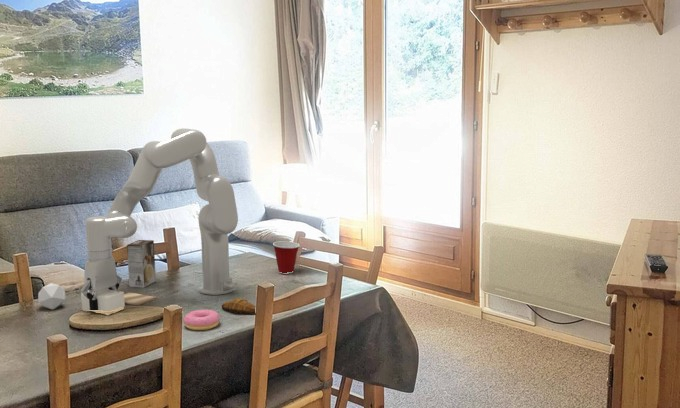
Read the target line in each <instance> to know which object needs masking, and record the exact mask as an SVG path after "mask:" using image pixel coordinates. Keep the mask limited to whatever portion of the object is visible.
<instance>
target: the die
mask: <svg viewBox="0 0 680 408" xmlns="http://www.w3.org/2000/svg"><path fill="white" fill-rule="evenodd" d="M37 295H38V304H40V305H41V306H42V307H44V308H46V309H48V310H51V311H54V310H55V309H57V308H58V307H60V306H62V304H63V303H64V302H65V301H66V290H65V289H64V288H63V287H62V286H61V285H60V284H56V283H53V282H50V283H48V284H46V285H45V286H42V288H41V289H40V290H39V292H37Z"/></svg>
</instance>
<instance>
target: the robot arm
mask: <svg viewBox="0 0 680 408" xmlns="http://www.w3.org/2000/svg"><path fill="white" fill-rule="evenodd" d="M187 160H189V162H190V165H191V168H192V172H193V178H194V183H195V190H196V193H197V196H198V197H199V198H200V200H202V201H206V202H208V204H205V205H204V206H202V207H201V209H200V211H199V213H198V217H197V218H198V227H199V231H200V239H201V240H200V241H201V242H200V244H201V245H200V246H201V267H202V268H201V269H202V270H201V271H202V285H201V286H199V287H198V293H200V294H203V295H208V296H219V295H225V294H226V295H227V294H229V293H232V292H233V291H235V290H236V289H237V286H238V283H237V282H234V281H233V278H232V277H230V256H229V253H230V252H229V249H230V248H229V236H228V235H229V234H232V233H233V232H234V231H235V230H236V228H237V227H238V222H239V215H238V214H239V213H238V209H237V204H236V203H237V202H236V196H235V192H234V188H233V185H232V184H231V182H230V181H229V180H228V178H226V177H223V176H222V175H221V176H220V173H219V169H218V164H217V159H216V155H215V153H214V151H213V149H212V147H211V146H210V145H209V143H208V142H207V138H206V135H205V134H204V133H203V132H202V131H200V130H197V129H193V128H192V129H191V128H178V129H176V130H175V131H173V132H172V133H171V137H170V138H169V139H167V140H163V141H158V140H153V141H151V140H150V141H149V142H147V143H145V145H144V146H143V147H142V148H141V151H140V153H139V155H138V158H137V159H136V162H135V164H134V167H133V169H132V171H131V173H130V176H128V179H127V181H126V182H125V184H124V185H123V186H122V188H121V189H120V191H118V193H117V194H116V196H115V197H114V200H113V202H112V204H111V205H110V208H109V210H108V212H107V215H106V216H104V215H102V216H101V215H99V216H90V217H88V218H86V220H85V237H86V250H87V253H86V254H87V260H85V264H84V273H83V274H84V275H83V276H84V278H83V280H84V282H83V283H84V285H83V286H82V288H81V289H80V293H83V294H84V296H86V297H87V299H89V305H90V310H98V300H97V299H96V297H97V293H98V291H100V290H103V289H109V290H115V291H119V290H118V289H119V288H120V284H121V282H122V280H123V279H122V277H121V276H119V275H118V271H117V266H116V262H115V258H114V256H113V253H114V248H113V245H112V239H126V238H127V239H128V238H131V237H132V236H134V235H135V234H136V232H137V231H138V229H137V228H138V224H137V222H136V220H135V218H133V217H132V214H133V211H134V210H135V208H136V206H137V204H138V203H139V202H140V201H141V200H142V199H144V198H145V197H147V196H149V195H150V194H151V193H152V192H153V190H154V189H155V186H156V184H157V182H158V180H159V177H160V176H161V173H162V171H163V169H167V168H170V167H174V166H176V165H178V164H181V163H183V162H186V161H187ZM88 290H89V292H88ZM93 292H94V293H93ZM92 293H93V295H92Z"/></svg>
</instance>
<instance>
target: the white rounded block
mask: <svg viewBox="0 0 680 408" xmlns="http://www.w3.org/2000/svg"><path fill="white" fill-rule="evenodd" d="M88 292H89V290H88ZM93 293H94V292H93ZM93 293H92V295H93ZM124 294H125V292H124V291H120V290H118V291H115V290H109V289H108V288H107V289H103V290H100V291H98V293H97V297H96V299H97V300H98V310H103V311H111V310H114V309H116V308H119V307H124V306H125V305H126V303H125V302H124ZM80 298H81V310H82V311H83V312H87V311H86V310H90V305H89V299H87V297H86V296H84V294H83V293H82V292H80ZM125 307H126V306H125Z"/></svg>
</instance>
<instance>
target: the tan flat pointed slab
mask: <svg viewBox="0 0 680 408" xmlns="http://www.w3.org/2000/svg"><path fill="white" fill-rule="evenodd" d="M157 299H158V297H157V296H153V295H148V294H147V295H146V294H140V293H135V292H126V293H124V302H125V304H126V305H132V306H133V305H134V306H140V305H144V304H146V303H149V302H151V301H154V300H157Z"/></svg>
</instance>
